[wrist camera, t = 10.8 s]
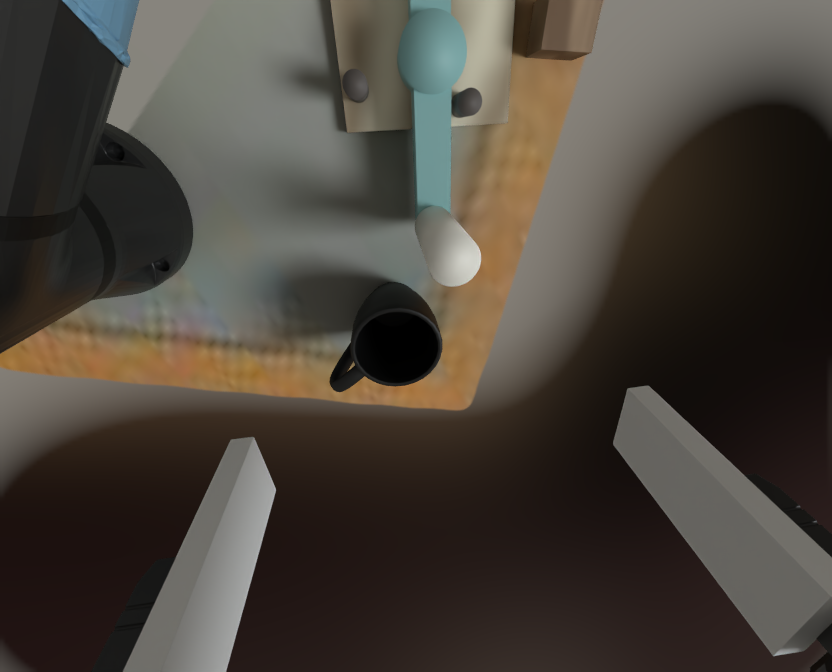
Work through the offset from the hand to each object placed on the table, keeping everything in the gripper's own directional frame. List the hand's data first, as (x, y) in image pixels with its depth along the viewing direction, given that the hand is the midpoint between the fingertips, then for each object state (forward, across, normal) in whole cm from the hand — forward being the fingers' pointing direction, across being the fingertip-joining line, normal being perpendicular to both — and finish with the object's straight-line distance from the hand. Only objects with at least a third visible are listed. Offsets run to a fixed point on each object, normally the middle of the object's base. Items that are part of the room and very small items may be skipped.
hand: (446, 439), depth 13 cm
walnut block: (+26, +12, +16) cm, 33 cm away
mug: (+28, -3, -8) cm, 29 cm away
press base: (+28, +4, +15) cm, 32 cm away
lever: (+25, +3, +11) cm, 28 cm away
